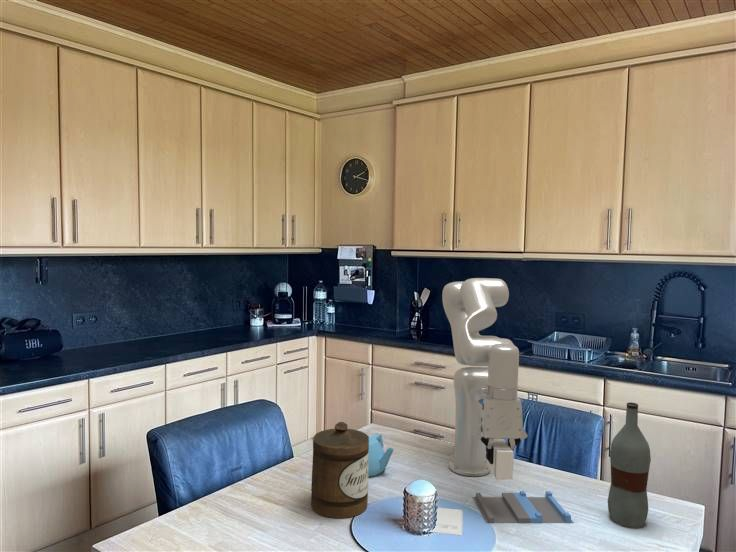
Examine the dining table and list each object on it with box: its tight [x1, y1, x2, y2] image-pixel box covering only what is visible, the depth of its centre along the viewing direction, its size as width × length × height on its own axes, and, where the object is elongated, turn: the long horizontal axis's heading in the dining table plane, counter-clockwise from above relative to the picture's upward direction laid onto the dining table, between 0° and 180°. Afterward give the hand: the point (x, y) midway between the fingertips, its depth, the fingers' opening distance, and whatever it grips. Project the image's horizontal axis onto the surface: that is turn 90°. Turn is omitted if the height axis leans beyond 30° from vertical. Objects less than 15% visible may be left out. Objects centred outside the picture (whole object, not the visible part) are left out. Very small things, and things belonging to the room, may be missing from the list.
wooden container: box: [310, 421, 370, 519], centre depth 142 cm, size 15×15×22 cm
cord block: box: [485, 439, 515, 480], centre depth 140 cm, size 10×4×7 cm, turn 2°
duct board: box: [472, 490, 575, 524], centre depth 140 cm, size 14×22×3 cm, turn 92°
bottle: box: [607, 401, 652, 529], centre depth 137 cm, size 9×9×30 cm
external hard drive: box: [427, 507, 464, 536], centre depth 134 cm, size 2×8×12 cm
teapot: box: [366, 432, 394, 478], centre depth 165 cm, size 15×15×11 cm
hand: (499, 461), depth 140 cm, fingers closed on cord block, 4 cm apart
